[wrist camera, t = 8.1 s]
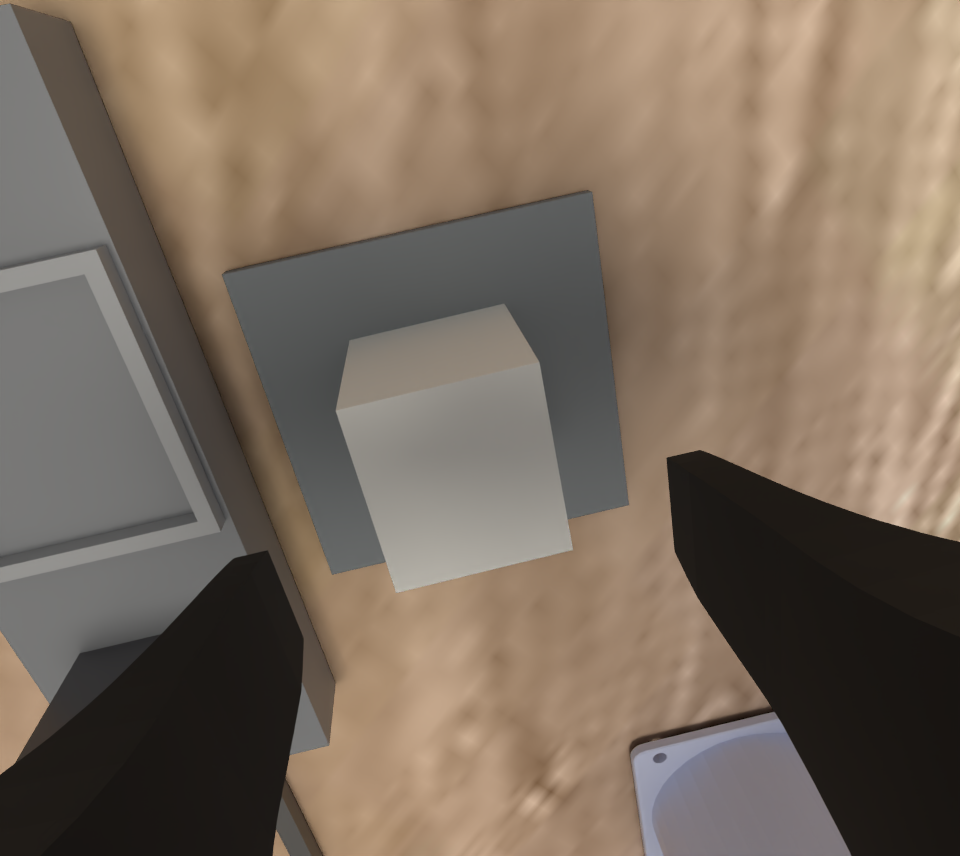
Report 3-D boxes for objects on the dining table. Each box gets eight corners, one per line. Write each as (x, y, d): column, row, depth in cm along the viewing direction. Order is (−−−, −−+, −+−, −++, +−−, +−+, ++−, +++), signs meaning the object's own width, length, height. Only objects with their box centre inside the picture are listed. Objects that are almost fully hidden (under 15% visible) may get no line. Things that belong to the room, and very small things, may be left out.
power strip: (70, 21, 14) (-135, -40, 8) (408, 866, 26) (412, 1055, 21) (-247, 88, 14) (-656, 70, 8) (245, 905, 26) (208, 1107, 21)
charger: (504, 303, 17) (539, 362, 13) (534, 457, 19) (572, 549, 15) (346, 340, 17) (331, 411, 13) (392, 491, 19) (392, 593, 15)
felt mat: (588, 190, 16) (592, 191, 16) (624, 498, 20) (628, 505, 20) (226, 271, 16) (222, 274, 16) (333, 566, 20) (332, 574, 20)
